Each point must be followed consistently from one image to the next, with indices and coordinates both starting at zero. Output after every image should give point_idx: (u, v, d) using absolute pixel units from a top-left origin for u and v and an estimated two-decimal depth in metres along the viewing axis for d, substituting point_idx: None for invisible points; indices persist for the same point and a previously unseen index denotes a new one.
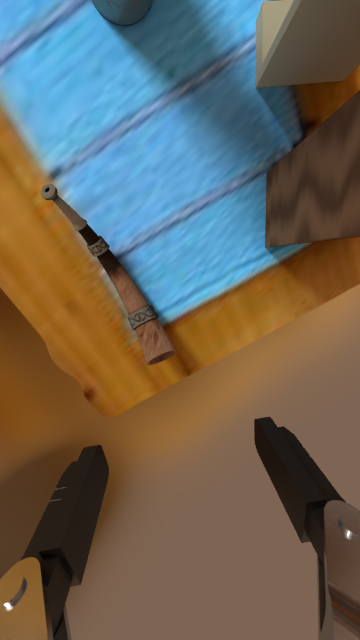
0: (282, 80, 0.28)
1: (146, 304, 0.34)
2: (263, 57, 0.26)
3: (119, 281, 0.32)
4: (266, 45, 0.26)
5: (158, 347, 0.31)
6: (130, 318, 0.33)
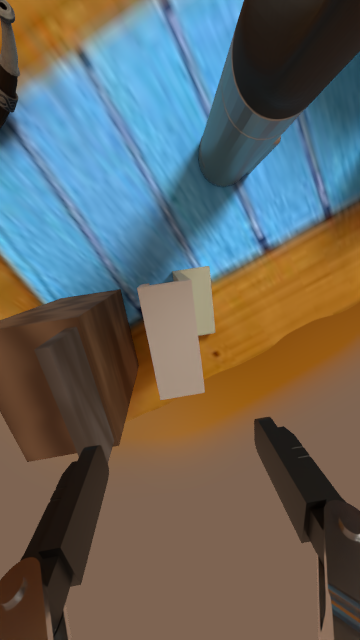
0: None
1: None
2: (182, 271, 0.37)
3: None
4: (188, 272, 0.37)
5: None
6: None
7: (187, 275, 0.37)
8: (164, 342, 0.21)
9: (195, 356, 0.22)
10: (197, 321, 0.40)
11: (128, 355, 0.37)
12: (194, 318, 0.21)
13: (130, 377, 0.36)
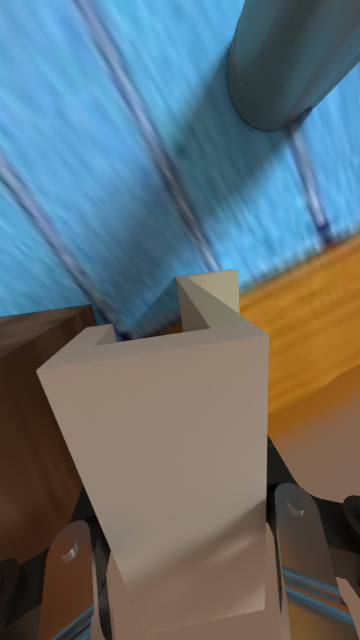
0: (179, 306, 0.24)
1: None
2: (192, 277, 0.22)
3: None
4: (203, 279, 0.22)
5: None
6: None
7: (201, 284, 0.22)
8: (156, 525, 0.06)
9: (250, 546, 0.07)
10: None
11: None
12: (261, 458, 0.06)
13: None
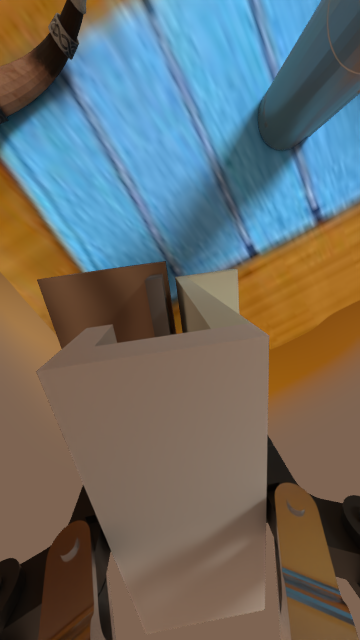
0: (179, 306, 0.24)
1: (2, 106, 0.26)
2: (192, 277, 0.22)
3: (25, 63, 0.25)
4: (202, 279, 0.22)
5: None
6: None
7: (200, 284, 0.22)
8: (157, 525, 0.06)
9: (250, 546, 0.07)
10: None
11: None
12: (262, 459, 0.06)
13: None
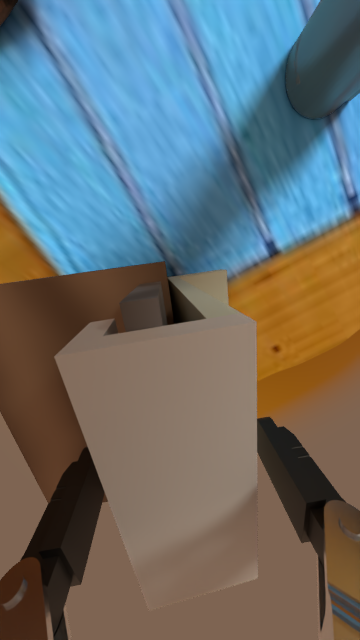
0: None
1: None
2: (183, 277, 0.23)
3: None
4: (193, 279, 0.23)
5: None
6: None
7: (192, 284, 0.23)
8: (160, 499, 0.07)
9: (244, 516, 0.08)
10: None
11: None
12: (252, 432, 0.07)
13: None
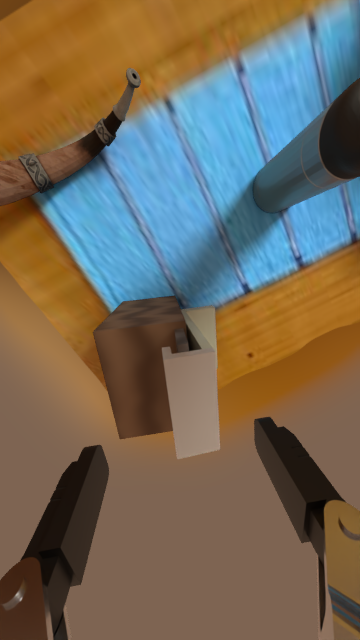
0: None
1: (52, 179, 0.33)
2: (188, 311, 0.37)
3: (73, 150, 0.32)
4: (194, 312, 0.38)
5: None
6: (30, 155, 0.31)
7: (193, 315, 0.38)
8: (185, 407, 0.22)
9: (213, 417, 0.23)
10: None
11: None
12: (215, 384, 0.21)
13: None
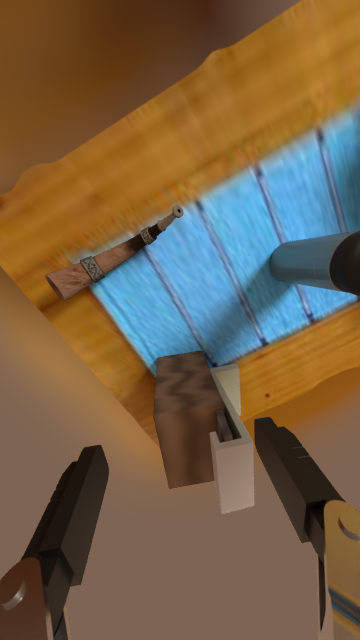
0: None
1: (105, 272, 0.40)
2: (217, 372, 0.44)
3: (122, 250, 0.39)
4: (222, 373, 0.44)
5: (65, 286, 0.36)
6: (90, 259, 0.38)
7: (221, 375, 0.45)
8: (229, 479, 0.29)
9: (250, 484, 0.30)
10: None
11: None
12: (252, 463, 0.28)
13: None
